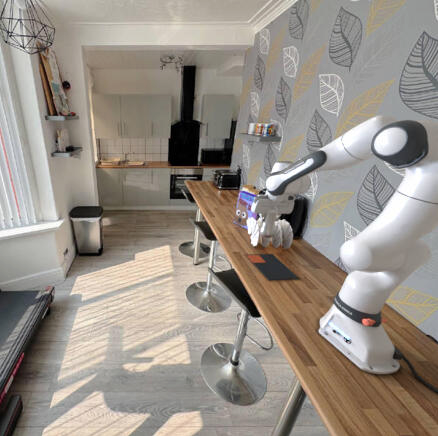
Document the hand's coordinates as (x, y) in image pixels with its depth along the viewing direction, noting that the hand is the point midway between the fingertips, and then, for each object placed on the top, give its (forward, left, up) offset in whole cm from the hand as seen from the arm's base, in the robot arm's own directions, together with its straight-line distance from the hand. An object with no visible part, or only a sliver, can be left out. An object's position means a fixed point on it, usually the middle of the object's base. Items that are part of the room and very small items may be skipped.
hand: (268, 221), depth 118 cm
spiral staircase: (+15, -15, -24) cm, 32 cm away
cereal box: (+42, -15, -24) cm, 51 cm away
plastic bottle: (0, 0, -9) cm, 9 cm away
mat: (-6, -4, -23) cm, 24 cm away
